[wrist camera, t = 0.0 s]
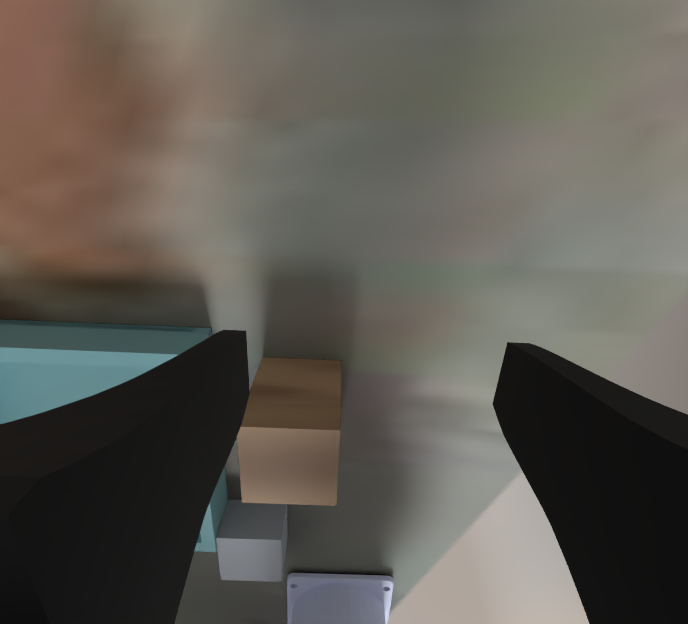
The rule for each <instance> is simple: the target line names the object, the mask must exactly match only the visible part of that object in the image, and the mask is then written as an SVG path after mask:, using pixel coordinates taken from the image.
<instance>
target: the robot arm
mask: <svg viewBox="0 0 688 624" xmlns="http://www.w3.org/2000/svg"><path fill="white" fill-rule="evenodd" d="M248 398H249V376H248V359H247V341H246V331H236V330H222V331H220V332H218V333H216V334H214V335H212V336H210V337H209V338H207V339H205V340H203V341H202V342H200V343H198V344H196V345H195V346H193V347H191V348H190V349H188V350H186V351H184V352H183V353H181V354H179V355H177V356H176V357H174V358H172V359H170V360H168V361H166V362H164V363H162V364H160V365H159V366H157V367H155V368H153V369H151V370H149V371H147V372H145V373H143V374H141V375H139V376H137V377H135V378H133V379H131V380H128V381H126V382H124V383H122V384H119V385H117V386H114V387H112V388H110V389H107V390H105V391H102V392H100V393H97V394H95V395H92V396H90V397H87V398H84V399H81V400H78V401H75V402H72V403H69V404H66V405H63V406H60V407H57V408H54V409H51V410H48V411H45V412H42V413H39V414H36V415H32V416H29V417H25V418H22V419H18V420H15V421H11V422H7V423H3V424H0V624H174V622H175V619H176V615H177V611H178V607H179V603H180V600H181V596H182V593H183V589H184V585H185V582H186V578H187V575H188V571H189V568H190V564H191V561H192V557H193V554H194V550H195V547H196V544H197V540H198V537H199V534H200V530H201V527H202V524H203V520H204V517H205V514H206V511H207V508H208V506H209V503H210V500H211V497H212V495H213V493H214V490H215V488H216V485H217V483H218V481H219V478H220V476H221V473H222V471H223V469H224V466H225V464H226V461H227V459H228V457H229V454H230V452H231V449H232V447H233V445H234V442H235V440H236V437H237V435H238V432H239V430H240V427H241V425H242V421H243V417H244V414H245V410H246V406H247V402H248ZM493 406H494V409H495V412H496V415H497V418H498V421H499V424H500V426H501V429H502V432H503V434H504V437H505V439H506V441H507V442H508V444H509V446H510V448H511V450H512V452H513V454H514V456H515V458H516V460H517V462H518V463H519V465H520V467H521V469H522V471H523V473H524V474H525V476H526V478H527V480H528V482H529V484H530V486H531V487H532V489H533V491H534V493H535V495H536V497H537V498H538V500H539V502H540V504H541V506H542V508H543V510H544V512H545V514H546V516H547V518H548V520H549V522H550V524H551V526H552V529H553V531H554V533H555V536H556V538H557V541H558V543H559V546H560V548H561V550H562V553H563V555H564V557H565V560H566V562H567V565H568V567H569V570H570V573H571V575H572V578H573V580H574V583H575V586H576V588H577V591H578V594H579V596H580V599H581V602H582V604H583V607H584V610H585V612H586V615H587V618H588V621H589V623H590V624H688V415H687V414H684V413H682V412H679V411H677V410H674V409H672V408H669V407H667V406H664V405H662V404H659V403H657V402H655V401H652V400H650V399H648V398H645V397H643V396H641V395H639V394H636V393H634V392H632V391H630V390H628V389H626V388H623V387H621V386H619V385H617V384H615V383H613V382H611V381H609V380H607V379H605V378H603V377H600V376H598V375H596V374H594V373H592V372H590V371H588V370H586V369H584V368H582V367H580V366H578V365H576V364H574V363H572V362H570V361H568V360H566V359H564V358H562V357H560V356H558V355H556V354H554V353H552V352H550V351H548V350H546V349H543V348H541V347H538V346H536V345H533V344H530V343H509V342H507V347H506V351H505V355H504V359H503V363H502V367H501V372H500V376H499V380H498V384H497V388H496V392H495V396H494V401H493ZM393 586H394V582H393V578H392V577H390V576H383V575H351V574H318V573H291V574H289V575H288V577H287V616H288V624H388V619H389V613H390V606H391V599H392V593H393Z"/></svg>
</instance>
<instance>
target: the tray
mask: <svg viewBox="0 0 688 624" xmlns="http://www.w3.org/2000/svg"><path fill="white" fill-rule="evenodd" d="M210 336H212V330H211V328H197V327H173V326H149V325H125V324H101V323H77V322H53V321H29V320H5V319H0V424H3V423H7V422H11V421H15V420H18V419H22V418H25V417H29V416H32V415H36V414H39V413H42V412H45V411H48V410H51V409H54V408H57V407H60V406H63V405H66V404H69V403H72V402H75V401H78V400H81V399H84V398H87V397H90V396H92V395H95V394H97V393H100V392H102V391H105V390H107V389H110V388H112V387H114V386H117V385H119V384H122V383H124V382H126V381H128V380H131V379H133V378H135V377H137V376H139V375H141V374H143V373H145V372H147V371H149V370H151V369H153V368H155V367H157V366H159V365H160V364H162V363H164V362H166V361H168V360H170V359H172V358H174V357H176V356H177V355H179V354H181V353H183V352H184V351H186V350H188V349H190V348H191V347H193V346H195V345H196V344H198V343H200V342H202V341H203V340H205V339H207V338H209V337H210ZM227 502H228V495H227V485H226V475H225V466H224V469H223V471H222V473H221V476H220V478H219V481H218V483H217V485H216V488H215V490H214V493H213V495H212V497H211V500H210V503H209V506H208V508H207V511H206V514H205V517H204V520H203V524H202V527H201V530H200V534H199V537H198V540H197V544H196V547H195V550H194V551H197V552H216V550H217V543H216V536H217V533H218V530H219V527H220V524H221V521H222V518H223V515H224V512H225V508H226V505H227Z"/></svg>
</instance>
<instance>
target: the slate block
mask: <svg viewBox="0 0 688 624" xmlns="http://www.w3.org/2000/svg"><path fill="white" fill-rule="evenodd" d="M287 542H288V536H287V504H269V503H242V500H230V499H228V502H227V505H226V508H225V512H224V515H223V518H222V521H221V524H220V527H219V530H218V533H217V536H216V543H217V551H218V560H219V568H220V577H221V580H236V581H271V582H282V578H283V571H284V564H285V556H286V549H287Z"/></svg>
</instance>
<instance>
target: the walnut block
mask: <svg viewBox="0 0 688 624" xmlns="http://www.w3.org/2000/svg"><path fill="white" fill-rule="evenodd" d="M340 429H341V361H339V360H315V359H290V358H265V357H263V358H262V360H261V363H260V366H259V368H258V371H257V373H256V376H255V379H254V381H253V384H252V386H251V389H250V392H249V398H248V402H247V406H246V410H245V414H244V417H243V421H242V425H241V427H240V430H239V432H238V435H237V445H238V458H239V470H240V483H241V496H242V503H269V504H299V505H328V506H336V505H337V486H338V468H339V449H340Z"/></svg>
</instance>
